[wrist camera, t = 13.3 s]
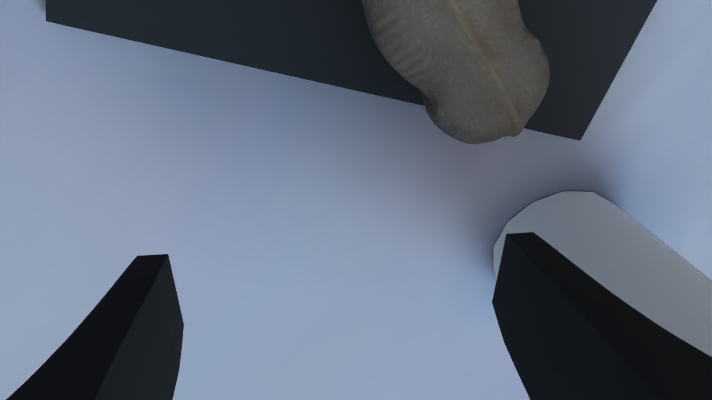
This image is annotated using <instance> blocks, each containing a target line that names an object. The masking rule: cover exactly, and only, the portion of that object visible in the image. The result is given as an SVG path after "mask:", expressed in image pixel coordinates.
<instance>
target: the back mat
mask: <svg viewBox="0 0 712 400" xmlns="http://www.w3.org/2000/svg"><path fill="white" fill-rule="evenodd" d="M656 1H657V0H518V3H519V8H520V12H521V17H522V20H523V23H524V25H525V26H526V28H527V30H528V31H529V32H530V33H531V34H532V35H534V36H535V37H536V38H537V39H538V40H539V42H540V44H541V46H542V48H543V50H544V52H545V54H546V56H547V59H548V62H549V69H550V76H549V84H548V88H547V90H546V93H545V95H544V97H543V99H542V101H541V103H540V105H539V107H538V108H537V110H536V111H535V113H534V114H533V115H532V116H531V117H530V119H529V120H528V122H527V123H526V125H525V127H524V128H526V129H530V130H535V131H539V132H544V133H548V134H553V135H557V136H562V137H566V138H571V139H575V140H581V138H582V136H583V135H584V133H585V131H586V129H587V127H588V125H589V124H590V122H591V120H592V118H593V116H594V114H595V113H596V111H597V109H598V107H599V105H600V104H601V102H602V100H603V98H604V96H605V94H606V93H607V91H608V89H609V87H610V85H611V83H612V82H613V80H614V78H615V76H616V74H617V72H618V71H619V69H620V67H621V65H622V63H623V62H624V60H625V58H626V56H627V54H628V52H629V51H630V49H631V47H632V45H633V43H634V41H635V40H636V38H637V36H638V34H639V32H640V30H641V29H642V27H643V25H644V23H645V21H646V20H647V18H648V16H649V14H650V12H651V10H652V9H653V7H654V5H655V3H656ZM46 21H48V22H52V23H57V24H61V25H66V26H70V27H75V28H79V29H84V30H88V31H92V32H97V33H101V34H106V35H110V36H115V37H119V38H124V39H128V40H133V41H137V42H142V43H146V44H151V45H155V46H159V47H164V48H168V49H173V50H177V51H182V52H186V53H191V54H195V55H200V56H204V57H209V58H213V59H218V60H222V61H227V62H231V63H235V64H240V65H244V66H249V67H253V68H258V69H262V70H267V71H271V72H276V73H280V74H285V75H289V76H294V77H298V78H303V79H307V80H311V81H316V82H320V83H325V84H329V85H334V86H338V87H343V88H347V89H352V90H356V91H361V92H365V93H370V94H374V95H378V96H383V97H387V98H392V99H396V100H401V101H405V102H410V103H414V104H419V105H423V106H424V103H423V100H422V98H421V93H420V89H418V88H417V87H415V86H413V85H412V84H411V83H409V82H408V81H406V80H405V79H404V78H403V77H402V76H401V75H400V74H399V73H398V72H397V71H396V70H395V69H394V68H393V67H392V66H391V65H390V64H389V63H388V62H387V60H386V59H385V58H384V57H383V55H382V53H381V52H380V50H379V48H378V47H377V45H376V43H375V41H374V39H373V37H372V34H371V32H370V30H369V27H368V24H367V20H366V16H365V11H364V7H363V4H362V1H361V0H46Z"/></svg>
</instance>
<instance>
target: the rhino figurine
mask: <svg viewBox="0 0 712 400" xmlns="http://www.w3.org/2000/svg"><path fill="white" fill-rule="evenodd" d="M361 1H362V4H363V7H364V11H365V16H366V20H367V24H368V27H369V30H370V32H371V34H372V37H373V39H374V41H375V43H376V45H377V47H378V48H379V50H380V52H381V53H382V55H383V57H384V58H385V59H386V60H387V62H388V63H389V64H390V65H391V66H392V67H393V68H394V69H395V70H396V71H397V72H398V73H399V74H400V75H401V76H402V77H403V78H404V79H405V80H406V81H408V82H409V83H411V84H412V85H413V86H415V87H417V88H418V89H420V93H421V98H422V100H423V103H424V106H425V108H426V111H427V113H428V116H429V117H430V119H431V120H432V121H433V122H434V124H435V125H436V126H437V127H438V128H440V129H441V130H442V131H443V132H444V133H446V134H448V135H449V136H451V137H453V138H455V139H457V140H459V141H461V142H464V143H467V144H479V143H486V142H491V141H495V140H497V139H499V138H502V137H506V136H512V137H514V136H517V135H518V134H519V133H520V132H521V131H522V130H523V128H524V127H525V125H526V123H527V122H528V120H529V119H530V117H531V116H532V115H533V114H534V113H535V111H536V110H537V108H538V107H539V105H540V103H541V101H542V99H543V97H544V95H545V93H546V90H547V88H548V84H549V76H550V69H549V62H548V59H547V56H546V54H545V52H544V50H543V48H542V46H541V44H540V42H539V40H538V39H537V38H536V37H535V36H534V35H532V34H531V33H530V32H529V31H528V30H527V28H526V26H525V25H524V23H523V20H522V17H521V12H520V8H519V3H518V0H361Z"/></svg>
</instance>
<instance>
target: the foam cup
mask: <svg viewBox="0 0 712 400" xmlns="http://www.w3.org/2000/svg"><path fill="white" fill-rule="evenodd" d="M525 232H534V233H535V234H537V235H538V236H539V237H541V238H542V239H543V240H545V241H546V242H547V243H549V244H550V245H551V246H552V247H554V248H555V249H556V250H557V251H559V252H560V253H561V254H563V255H564V256H565V257H566V258H568V259H569V260H570V261H571V262H573V263H574V264H575V265H577V266H578V267H579V268H580V269H582V270H583V271H584V272H585V273H587V274H588V275H589V276H591V277H592V278H593V279H595V280H596V281H597V282H598V283H600V284H601V285H602V286H604V287H605V288H606V289H608V290H609V291H610V292H612V293H613V294H615V295H616V296H617V297H619V298H620V299H621V300H623V301H624V302H626V303H627V304H628V305H630V306H631V307H633V308H634V309H636V310H637V311H639V312H640V313H642V314H643V315H645V316H646V317H648V318H649V319H650V320H652V321H653V322H655V323H656V324H658V325H659V326H661V327H663V328H664V329H666V330H667V331H669V332H670V333H672V334H674V335H675V336H677V337H679V338H680V339H682V340H684V341H686V342H687V343H689V344H691V345H692V346H694V347H696V348H697V349H699V350H701V351H702V352H704V353H706V354H708V355H709V356H711V357H712V280H711V279H710V278H708V277H707V276H706V275H705V274H703V273H702V272H701V271H700V270H698V269H697V268H696V267H694V266H693V265H692V264H691V263H689V262H688V261H687V260H686V259H684V258H683V257H682V256H680V255H679V254H678V253H677V252H675V251H674V250H673V249H672V248H670V247H669V246H668V245H667V244H665V243H664V242H663V241H661V240H660V239H659V238H658V237H656V236H655V235H654V234H653V233H651V232H650V231H649V230H648V229H646V228H645V227H644V226H642V225H641V224H640V223H639V222H637V221H636V220H635V219H634V218H632V217H631V216H630V215H628V214H627V213H626V212H625V211H623V210H622V209H620V208H618V207H617V206H616V205H615V204H614V203H612V202H610V201H608V200H607V199H605V198H603V197H601V196H599V195H598V194H596V193H594V192H574V191H562V192H560V193H557V194H554V195H551V196H549V197H546V198H543V199H540V200H537V201H535V202H532V203H531V204H530V205H528V206H527V207H526V208H525V209H523V210H522V211H521V212H520V213H518V214H517V215H516V216H515V217H513V218H512V219H511V220H510V221H508V222H507V224H506V225H505V227H504V229H503V231H502V232H501V234H500V236H499V238H498V239H497V241H496V243H495V245H494V254H493V269H494V272H495V274H496V281H497V276H498V271H499V266H500V262H501V257H502V252H503V247H504V242H505V237H506V234H509V233H525ZM528 397H529V396H528ZM529 400H530V398H529Z"/></svg>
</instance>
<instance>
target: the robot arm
mask: <svg viewBox="0 0 712 400" xmlns="http://www.w3.org/2000/svg"><path fill="white" fill-rule="evenodd" d="M492 303H493V307H494V310H495V314H496V317H497V321H498V324H499V327H500V330H501V333H502V336H503V339H504V343H505V345H506V347H507V350H508V352H509V354H510V356H511V359H512V361H513V363H514V365H515V367H516V370H517V372H518V374H519V376H520V378H521V380H522V383H523V385H524V387H525V389H526V391H527V393H528V396H529V398H530V400H712V357H711V356H709V355H708V354H706V353H704V352H702V351H701V350H699V349H697V348H696V347H694V346H692V345H691V344H689V343H687V342H686V341H684V340H682V339H680V338H679V337H677V336H675V335H674V334H672V333H670V332H669V331H667V330H666V329H664V328H663V327H661V326H659V325H658V324H656V323H655V322H653V321H652V320H650V319H649V318H648V317H646V316H645V315H643V314H642V313H640V312H639V311H637V310H636V309H634V308H633V307H631V306H630V305H628V304H627V303H626V302H624V301H623V300H621V299H620V298H619V297H617V296H616V295H615V294H613V293H612V292H610V291H609V290H608V289H606V288H605V287H604V286H602V285H601V284H600V283H598V282H597V281H596V280H595V279H593V278H592V277H591V276H589V275H588V274H587V273H585V272H584V271H583V270H582V269H580V268H579V267H578V266H577V265H575V264H574V263H573V262H571V261H570V260H569V259H568V258H566V257H565V256H564V255H563V254H561V253H560V252H559V251H557V250H556V249H555V248H554V247H552V246H551V245H550V244H549V243H547V242H546V241H545V240H543V239H542V238H541V237H539V236H538V235H537V234H535V233H534V232H525V233H509V234H506V237H505V242H504V247H503V252H502V257H501V262H500V266H499V271H498V276H497V281H496V286H495V291H494V296H493V301H492ZM183 328H184V323H183V319H182V314H181V310H180V305H179V301H178V297H177V292H176V288H175V283H174V279H173V274H172V270H171V265H170V261H169V256H168V254H161V255H145V256H137V257H136V258H135V259H134V260H133V261H132V263H131V264H130V265H129V266H128V267H127V269H126V270H125V271H124V272H123V274H122V275H121V276H120V277H119V279H118V280H117V281H116V282H115V284H114V285H113V286H112V287H111V289H110V290H109V291H108V292H107V293H106V295H105V296H104V297H103V298H102V299H101V301H100V302H99V303H98V304H97V305H96V307H95V308H94V309H93V310H92V311H91V312H90V314H89V315H88V316H87V317H86V318H85V319H84V320H83V322H82V323H81V324H80V325H79V326H78V327H77V329H76V330H75V331H74V332H73V333H72V334H71V335H70V336H69V338H68V339H67V340H66V341H65V342H64V343H63V344H62V345H61V346H60V347H59V348H58V349H57V350H56V351H55V352H54V353H53V354H52V355H51V356H50V358H49V359H48V360H47V361H46V362H45V363H44V364H43V365H42V366H41V367H40V368H39V369H38V370H37V371H36V372H35V373H34V374H33V375H32V376H31V377H30V378H29V379H28V380H27V381H26V382H25V383H24V384H23V385H22V386H21V387H20V388H18V389H17V390H16V391H15V392H14V393H13V394H12V395H11V396H10V397H9V398H8V399H6V400H172V399H173V395H174V390H175V386H176V382H177V377H178V372H179V366H180V358H181V349H182V339H183Z"/></svg>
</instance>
